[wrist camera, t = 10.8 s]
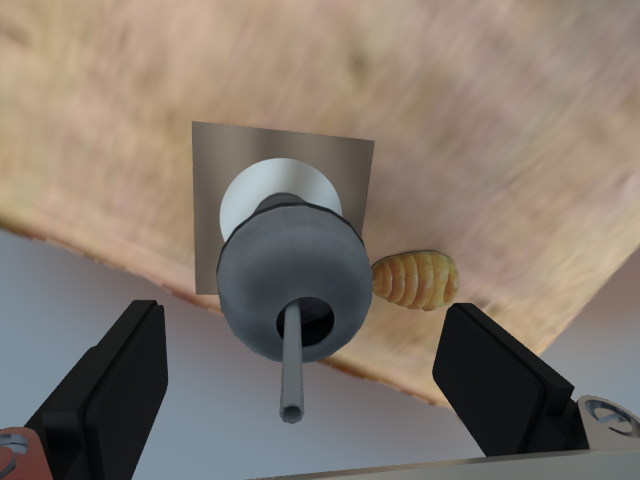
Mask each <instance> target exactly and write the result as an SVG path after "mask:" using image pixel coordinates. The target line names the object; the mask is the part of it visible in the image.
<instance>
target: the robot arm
mask: <svg viewBox="0 0 640 480" xmlns="http://www.w3.org/2000/svg"><path fill="white" fill-rule="evenodd" d="M165 335H166V334H165V317H164V307H163V305H158V304H157V301H156V300H134V301H133V302H132V303H131V304H130V305H129V306H128V308H127V309H126V310H125V311H124V312H123V314H122V315H121V316H120V317H119V319H118V320H117V321H116V322H115V324H114V325H113V326H112V327H111V328H110V330H109V331H108V332H107V333H106V335H105V336H104V337H103V338H102V339H101V341H100V342H99V343H98V344H97V345H96V346H94V347H91V348H90V349H89V350H88V351H87V352H86V353H85V354H84V355H83V356H82V358H81V359H80V360H79V361H78V362H77V364H76V365H75V366H74V367H73V368H72V370H71V371H70V372H69V373H68V374H67V375H66V377H65V378H64V379H63V380H62V381H61V383H60V384H59V385H58V386H57V388H56V389H55V390H54V391H53V392H52V393H51V394H50V396H49V397H48V398H47V399H46V400H45V402H44V403H43V404H42V405H41V406H40V408H39V409H38V410H37V411H36V412H35V414H34V415H33V416H32V417H31V418H30V420H29V421H28V422H27V423H26V424H25V425H24V427H9V428H4V429H0V480H131V479H132V476H133V474H134V471H135V469H136V466H137V464H138V461H139V459H140V456H141V453H142V451H143V449H144V446H145V443H146V441H147V438H148V436H149V433H150V431H151V428H152V426H153V423H154V421H155V418H156V415H157V413H158V411H159V408H160V406H161V403H162V400H163V398H164V395H165V393H166V390H167V385H168V369H167V352H166V336H165ZM432 375H433V379H434V381H435V382H436V384H437V385H438V387H439V388H440V390H441V391H442V393H443V394H444V396H445V397H446V398H447V400H448V401H449V403H450V404H451V406H452V407H453V409H454V410H455V412H456V413H457V415H458V416H459V418H460V419H461V420H462V422H463V423H464V425H465V426H466V427H467V429H468V431H469V432H470V434H471V435H472V436H473V438H474V439H475V441H476V442H477V444H478V445H479V447H480V448H481V450H482V451H483V453H484V454H485V455H486V457H480V458H469V459H458V460H446V461H436V462H424V463H413V464H402V465H391V466H380V467H370V468H360V469H348V470H337V471H328V472H318V473H307V474H296V475H286V476H277V477H266V478H256V479H246V480H640V418H639V417H637V416H636V415H634V414H633V413H632V412H630V411H629V410H627V409H625V408H623V407H622V406H620V405H618V404H616V403H614V402H611V401H609V400H607V399H603V398H600V397H597V396H590V395H586V396H581V397H580V398H579V399H578V400H577V402H576V403H575V402H574V401H573V400H572V399H571V398H570V397H571V395H572V392H573V390H574V386H573V385H572V384H571V383H570V382H568V381H567V380H566V379H565V378H563V377H562V376H561V375H560V374H558V373H557V372H556V371H555V370H554V369H552V368H551V367H550V366H549V365H547V364H546V363H545V362H544V361H542V360H541V359H540V358H539V357H538V356H536V355H535V354H534V353H533V352H531V351H530V350H529V349H528V348H527V347H525V346H524V345H523V344H522V343H520V342H519V341H518V340H517V339H515V338H514V337H513V336H512V335H511V334H509V333H508V332H507V331H506V330H504V329H503V328H502V327H501V326H500V325H498V324H497V323H496V322H495V321H493V320H492V319H491V318H490V317H488V316H487V315H486V314H485V313H484V312H482V311H481V310H480V309H479V308H477V307H476V306H475V305H474V304H472V303H454V304H453V305H452V306H451V307H449V308H448V310H447V313H446V317H445V321H444V325H443V329H442V333H441V337H440V341H439V345H438V349H437V353H436V357H435V361H434V365H433V370H432Z"/></svg>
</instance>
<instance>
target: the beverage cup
mask: <svg viewBox="0 0 640 480" xmlns="http://www.w3.org/2000/svg"><path fill="white" fill-rule="evenodd" d="M216 276H217V285H218V294H219V298H220V305H221V310H222V312H223V314H224V316H225V318H226V320H227V322H228V324H229V325H230V328H231V329H232V331H233V333H234V335H236V336H237V337H238V338H239V339H240V340H241V341H242V342H243V343H244V344H245V345H246V346H247V347H249V349H251V350H252V351H254V352H255V353H257V354H259V355H261V356H263V357H266V358H268V359H270V360H272V361H277V362H282V380H281V398H280V416H281V418H282V420H283V422H287V423H290V424H293V423H296V422H298V421H300V420H301V419H302V416H303V414H304V396H303V372H302V363H308V362H315V361H317V360H320V359H322V358H325V357H327V356H330V355H332V354H333V353H335V352H336V351H337V350H339V349H340V348H341V347H343V346H344V345H346V344H347V343H348V342H350V340H351V339H352V338H353V336H354V335H355V334H356V333H357V331H358V330H359V329H360V328H361V326H362V324H363V322H364V320H365V317H366V315H367V312H368V309H369V307H370V304H371V299H372V281H373V274H372V270H371V267H370V264H369V260H368V256H367V253H366V250H365V246H364V243H363V240H362V239H361V237H360V236H359V234H358V233H357V232H356V230H355V229H354V228H353V226H352V225H351V223H350V222H349V221H347V220H346V219H344V218H343V217H341V216H340V215H338V214H337V213H336V212H334V211H333V210H331V209H329V208H326V207H322V206H319V205H315V204H312V203H308V202H306V201H305V200H303V199H302V198H300V197H299V196H297V195H294V194H291V193H287V192H277V193H274V194H271V195H269V196H267V197H266V198H265V199H264V200H262V201H261V202H260V203H259V205H258V206H257V208H256V209H255V211H254V212H253V214H252V215H251V216H250V217H248V218H247V219H246V220H244V221H243V222H242V223H241V224H239V225H238V226H237V227H235V229H234V230H233V232H232V233H231V235H230V236H229V238H228V239H227V241H226V242H225V244H224V245H223V247H222V249H221V253H220V257H219V261H218V265H217V269H216Z"/></svg>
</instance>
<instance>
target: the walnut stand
mask: <svg viewBox="0 0 640 480" xmlns="http://www.w3.org/2000/svg"><path fill="white" fill-rule="evenodd" d="M374 142H375V141H372V140H362V139H353V138H344V137H334V136H325V135H316V134H307V133H297V132H288V131H279V130H269V129H260V128H251V127H241V126H232V125H223V124H214V123H204V122H195V121H192V145H193V191H194V236H195V282H196V294H199V295H219V294H218V285H217V276H216V269H217V265H218V261H219V257H220V253H221V249H222V247H223V245H224V244H225V242H226V241H227V239H228V238H229V236H230V235H231V233H232V232H233V230H234V229H235V227H237V226H238V225H239V224H241V223H242V222H243V221H244V220H246V219H247V218H248V217H250V216H251V215H252V214H253V212H254V211H255V209H256V208H257V206H258V205H259V203H260V202H261V201H262V200H264V199H265V198H266V197H267V196H269V195H271V194H274V193H277V192H287V193H291V194H294V195H297V196H299V197H300V198H302V199H303V200H305V201H306V202H308V203H312V204H315V205H319V206H322V207H326V208H329V209H331V210H333V211H334V212H336V213H337V214H338V215H340V216H341V217H343V218H344V219H346V220H347V221H349V222H350V223H351V225H352V226H353V228H354V229H355V230H356V232H357V233H358V234H359V236H360V237H361V233H362V226H363V219H364V212H365V205H366V198H367V191H368V184H369V177H370V170H371V163H372V156H373V149H374Z"/></svg>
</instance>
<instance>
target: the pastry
mask: <svg viewBox="0 0 640 480" xmlns="http://www.w3.org/2000/svg"><path fill="white" fill-rule="evenodd" d="M372 274H373V281H372V289H373V291H374V292H375V294H376V295H377V296H380V297H382V298H384V299H386V300H387V301H388V302H392V303H396V304H397V305H399V306H403V307H404V306H405V307H406V308H408V309H421V308H422V309H423V310H424V311H432V310H435V309H436V308H437V307H443V306H445V305H450V304H451V303H452V302H453V300H454V298H455V296H456V294H457V291H458V278H459V277H458V271H457V268H456V266H455V263H454V261H453V259H451V258H450V257H447V256H445V255H442V254H440V253H439V252H435V251H420V252H411V253H405V254H400V255H395V256H390V257H386V258H384V259H382V260H381V261H379V262H377V263H376V264H375V265H374V266H373V267H372Z"/></svg>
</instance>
